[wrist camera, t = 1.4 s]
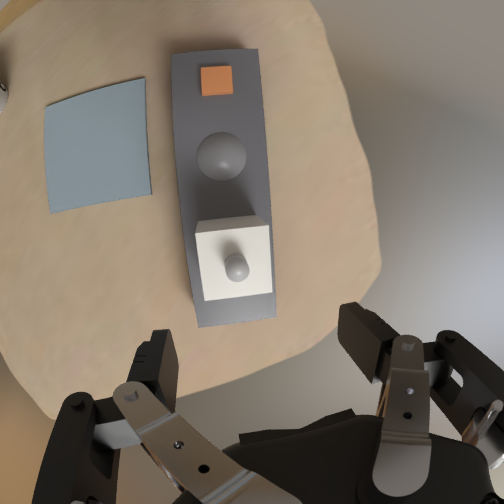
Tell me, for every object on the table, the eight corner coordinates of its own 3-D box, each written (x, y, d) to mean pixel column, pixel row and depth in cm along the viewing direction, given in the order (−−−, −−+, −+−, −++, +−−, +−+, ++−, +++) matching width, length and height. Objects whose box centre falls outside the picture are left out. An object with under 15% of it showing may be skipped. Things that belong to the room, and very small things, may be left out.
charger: (198, 218, 28) (194, 237, 19) (252, 212, 29) (273, 229, 20) (204, 270, 30) (204, 309, 21) (256, 264, 31) (276, 300, 22)
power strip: (175, 67, 25) (170, 51, 21) (251, 62, 26) (259, 45, 22) (199, 311, 34) (198, 331, 29) (269, 302, 35) (278, 320, 30)
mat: (47, 108, 23) (45, 107, 23) (145, 79, 25) (144, 78, 24) (52, 213, 27) (50, 213, 26) (152, 194, 29) (151, 194, 28)
